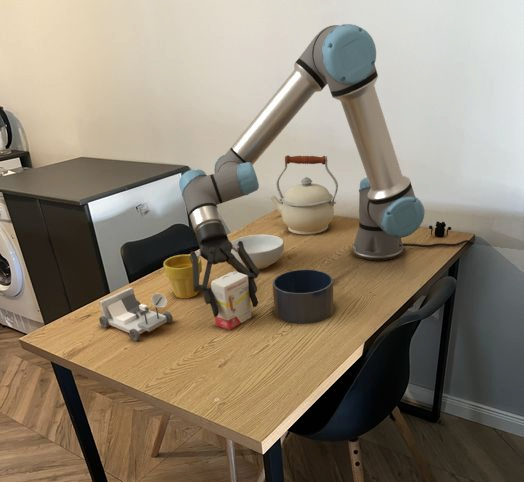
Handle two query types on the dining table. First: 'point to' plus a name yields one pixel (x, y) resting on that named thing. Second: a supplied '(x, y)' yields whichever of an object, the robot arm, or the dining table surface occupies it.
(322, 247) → the dining table surface
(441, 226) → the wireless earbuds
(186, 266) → the flower pot
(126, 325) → the toy car
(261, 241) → the cereal bowl
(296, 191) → the kettle
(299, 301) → the dark blue round tub
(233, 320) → the ink box
